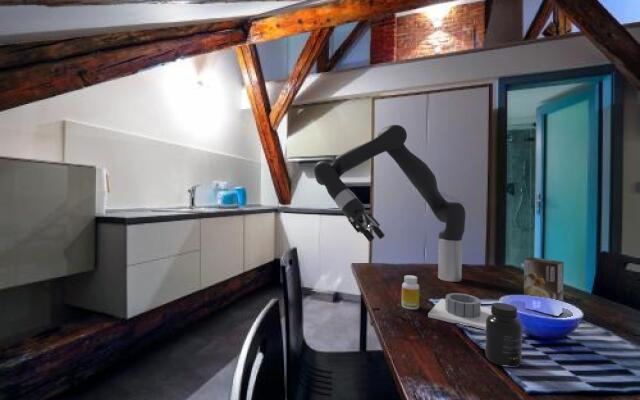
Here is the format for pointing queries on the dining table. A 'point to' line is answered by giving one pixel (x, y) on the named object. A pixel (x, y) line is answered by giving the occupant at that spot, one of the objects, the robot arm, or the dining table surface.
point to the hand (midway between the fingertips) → (377, 238)
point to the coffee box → (543, 278)
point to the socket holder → (461, 310)
